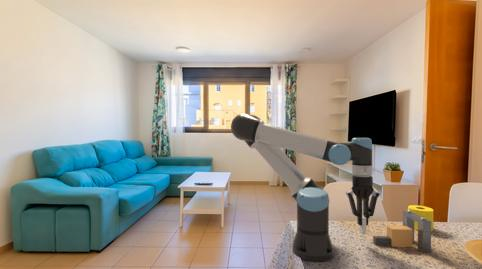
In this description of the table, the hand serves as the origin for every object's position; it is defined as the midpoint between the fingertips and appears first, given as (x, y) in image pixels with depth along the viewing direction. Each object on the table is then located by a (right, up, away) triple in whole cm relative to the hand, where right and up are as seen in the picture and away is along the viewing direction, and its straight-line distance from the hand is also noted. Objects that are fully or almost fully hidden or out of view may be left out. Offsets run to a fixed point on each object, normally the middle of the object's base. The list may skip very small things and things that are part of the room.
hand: (363, 232), depth 104 cm
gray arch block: (+21, -5, -1) cm, 22 cm away
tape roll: (+37, -5, +18) cm, 41 cm away
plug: (+12, -5, 0) cm, 12 cm away
